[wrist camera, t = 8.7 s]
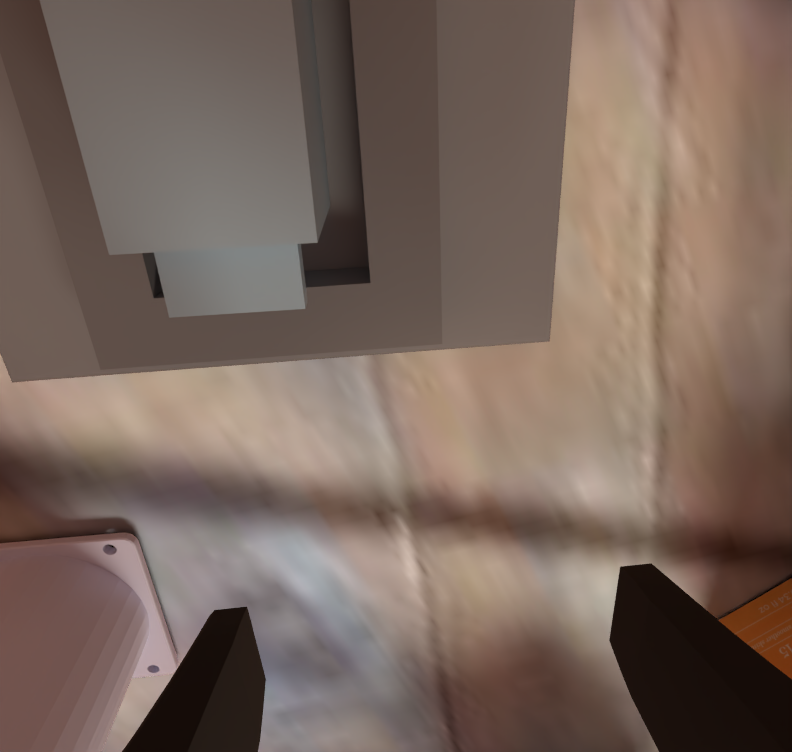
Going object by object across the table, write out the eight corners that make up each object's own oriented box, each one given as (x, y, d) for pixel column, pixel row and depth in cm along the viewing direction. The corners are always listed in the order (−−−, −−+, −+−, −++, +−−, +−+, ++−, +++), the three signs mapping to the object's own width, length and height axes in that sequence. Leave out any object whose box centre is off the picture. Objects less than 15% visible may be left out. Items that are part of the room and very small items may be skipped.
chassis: (25, 372, 18) (-30, 412, 16) (-232, -302, 11) (-408, -432, 9) (542, 333, 19) (572, 365, 16) (586, -321, 12) (649, -445, 10)
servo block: (205, 266, 16) (128, 334, 11) (128, -123, 12) (-54, -328, 7) (335, 258, 16) (325, 321, 11) (299, -128, 13) (255, -331, 7)
